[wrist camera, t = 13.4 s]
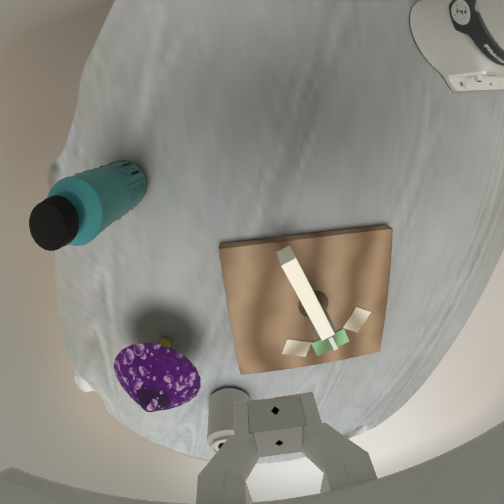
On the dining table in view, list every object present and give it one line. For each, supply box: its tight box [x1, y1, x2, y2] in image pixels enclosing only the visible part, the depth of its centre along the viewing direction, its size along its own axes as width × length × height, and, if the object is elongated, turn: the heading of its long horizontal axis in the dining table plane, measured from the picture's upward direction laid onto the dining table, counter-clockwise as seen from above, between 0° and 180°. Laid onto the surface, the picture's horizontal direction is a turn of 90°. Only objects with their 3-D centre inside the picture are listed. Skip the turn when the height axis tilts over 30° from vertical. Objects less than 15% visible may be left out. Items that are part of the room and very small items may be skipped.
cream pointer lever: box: [276, 245, 338, 351], centre depth 39 cm, size 20×3×7 cm, turn 29°
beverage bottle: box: [29, 160, 146, 251], centre depth 28 cm, size 6×7×20 cm
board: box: [219, 225, 393, 375], centre depth 44 cm, size 24×22×2 cm
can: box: [207, 388, 250, 454], centre depth 46 cm, size 8×8×12 cm
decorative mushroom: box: [114, 338, 200, 412], centre depth 39 cm, size 12×12×15 cm
